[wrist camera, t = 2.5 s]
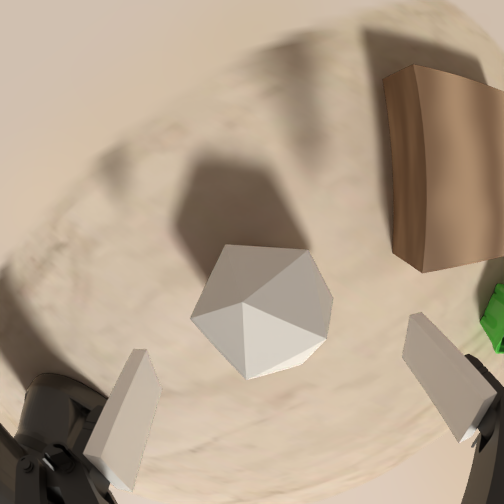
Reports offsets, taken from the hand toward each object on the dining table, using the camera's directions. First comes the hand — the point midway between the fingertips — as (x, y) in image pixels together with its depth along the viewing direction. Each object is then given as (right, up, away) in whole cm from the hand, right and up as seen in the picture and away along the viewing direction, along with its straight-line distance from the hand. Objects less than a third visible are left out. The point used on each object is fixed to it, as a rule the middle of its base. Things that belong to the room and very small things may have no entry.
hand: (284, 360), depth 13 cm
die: (-1, +3, +9) cm, 10 cm away
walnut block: (+16, +13, +7) cm, 22 cm away
